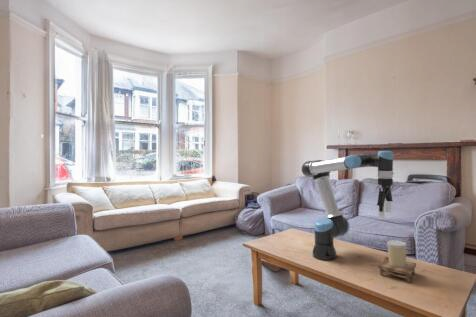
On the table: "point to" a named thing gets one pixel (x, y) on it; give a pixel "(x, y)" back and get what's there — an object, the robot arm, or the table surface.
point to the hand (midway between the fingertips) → (384, 214)
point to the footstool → (397, 269)
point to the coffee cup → (397, 253)
